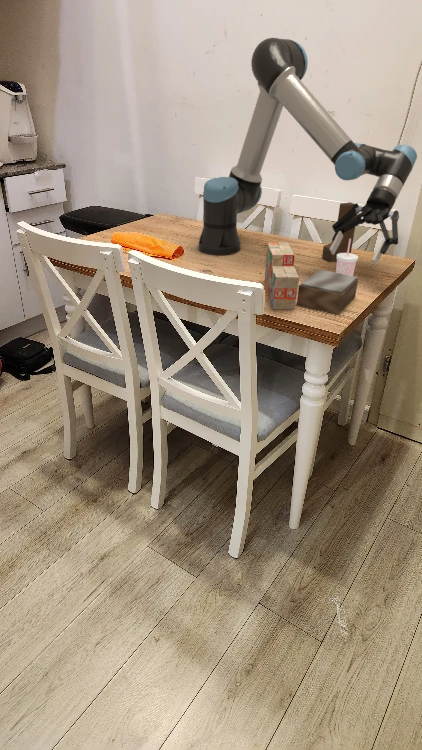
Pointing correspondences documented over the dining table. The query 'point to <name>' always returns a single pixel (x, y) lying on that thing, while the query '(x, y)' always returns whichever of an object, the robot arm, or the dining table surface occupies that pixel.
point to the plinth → (327, 291)
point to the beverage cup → (346, 262)
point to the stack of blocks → (281, 275)
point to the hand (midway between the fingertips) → (352, 257)
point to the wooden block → (345, 240)
